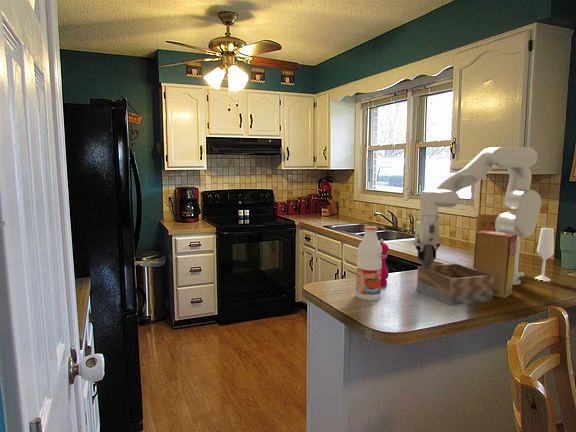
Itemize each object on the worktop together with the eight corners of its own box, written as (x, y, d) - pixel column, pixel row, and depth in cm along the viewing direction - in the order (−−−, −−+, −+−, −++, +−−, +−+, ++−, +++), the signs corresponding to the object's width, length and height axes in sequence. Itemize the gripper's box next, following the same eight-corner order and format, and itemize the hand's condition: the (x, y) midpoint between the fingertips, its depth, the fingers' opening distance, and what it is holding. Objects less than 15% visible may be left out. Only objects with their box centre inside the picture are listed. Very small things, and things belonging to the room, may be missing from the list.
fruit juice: (367, 292, 163) (370, 224, 160) (385, 298, 156) (388, 227, 152) (350, 296, 158) (353, 225, 154) (368, 302, 150) (371, 229, 147)
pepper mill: (375, 280, 179) (377, 236, 177) (390, 284, 175) (393, 239, 172) (368, 284, 174) (370, 239, 171) (383, 287, 169) (385, 241, 167)
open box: (455, 285, 174) (456, 263, 173) (492, 300, 156) (494, 275, 154) (416, 289, 168) (417, 266, 166) (450, 305, 149) (452, 279, 148)
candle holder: (428, 282, 174) (430, 225, 171) (415, 279, 179) (417, 224, 176) (435, 280, 178) (438, 224, 175) (423, 277, 183) (425, 222, 180)
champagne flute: (546, 282, 182) (552, 230, 180) (531, 278, 188) (536, 228, 185) (553, 279, 186) (559, 229, 183) (538, 276, 192) (543, 227, 189)
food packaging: (512, 293, 164) (518, 233, 161) (505, 298, 158) (510, 236, 154) (479, 286, 174) (483, 229, 170) (470, 291, 167) (475, 232, 164)
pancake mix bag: (513, 272, 199) (518, 216, 195) (471, 266, 209) (475, 213, 206) (514, 269, 204) (519, 215, 201) (474, 263, 215) (478, 212, 211)
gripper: (438, 216, 181) (437, 255, 184) (406, 218, 176) (405, 258, 178) (450, 219, 174) (448, 259, 176) (417, 220, 169) (415, 262, 171)
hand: (426, 258), depth 177 cm, fingers closed on candle holder, 5 cm apart
